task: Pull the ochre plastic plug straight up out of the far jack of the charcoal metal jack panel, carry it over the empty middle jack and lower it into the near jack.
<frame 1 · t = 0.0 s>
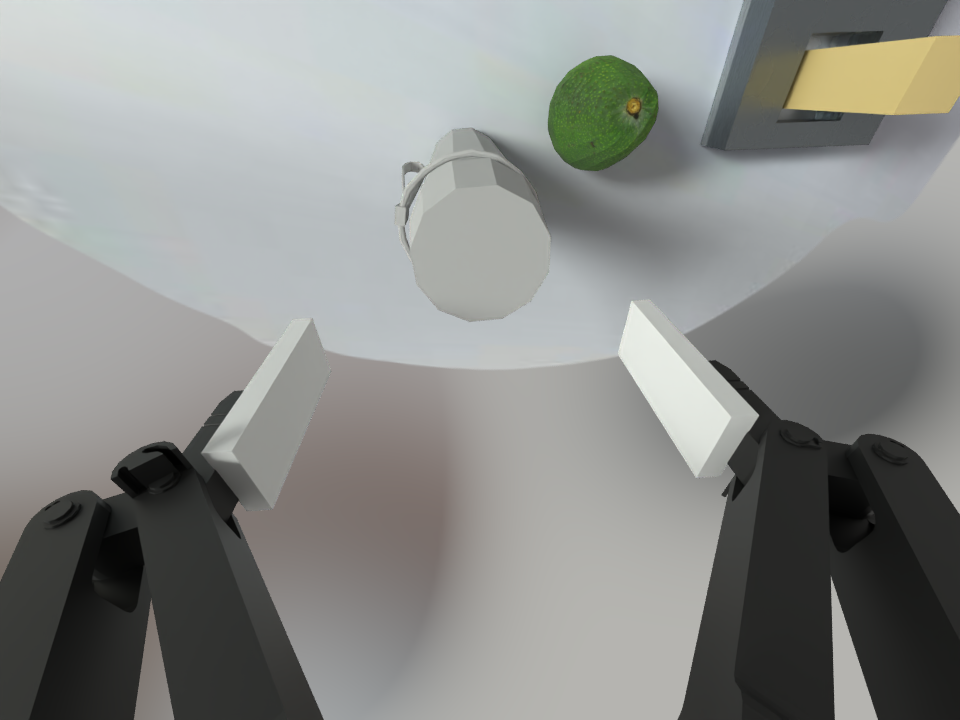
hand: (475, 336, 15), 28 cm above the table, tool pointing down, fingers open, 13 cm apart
avocado: (578, 113, 34), on the table
plug: (799, 80, 33), point 1 cm above the table, touching jack panel
water bottle: (456, 165, 36), on the table
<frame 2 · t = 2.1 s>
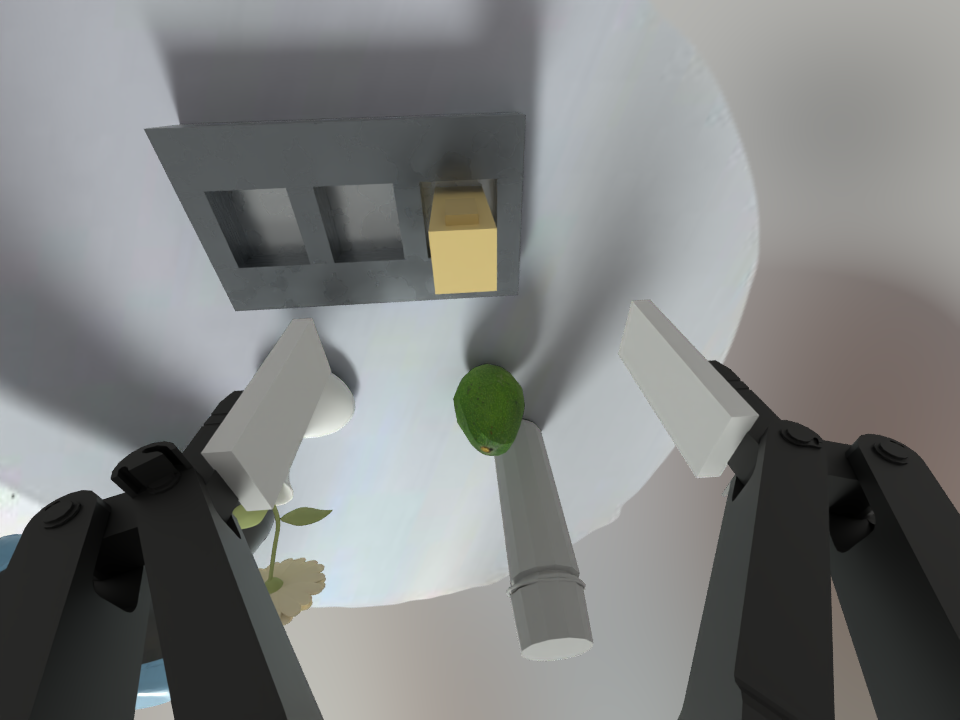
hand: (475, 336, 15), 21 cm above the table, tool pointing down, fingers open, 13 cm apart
avocado: (485, 374, 45), on the table
flower in vase: (317, 392, 44), on the table
jack panel: (370, 212, 32), on the table
plug: (459, 211, 31), point 1 cm above the table, touching jack panel
water bottle: (513, 436, 52), on the table
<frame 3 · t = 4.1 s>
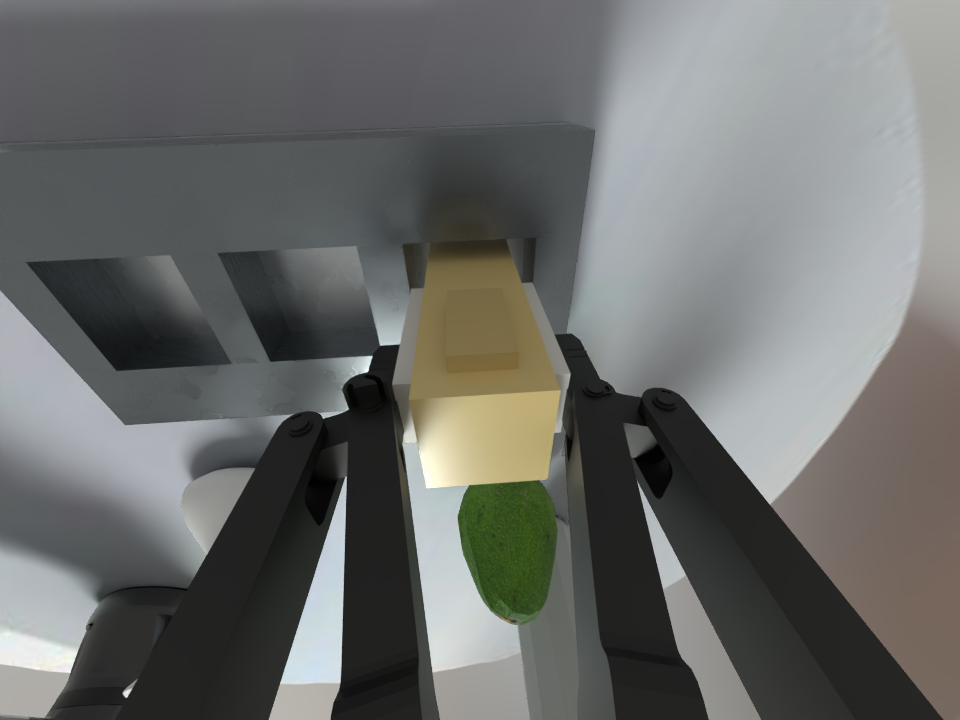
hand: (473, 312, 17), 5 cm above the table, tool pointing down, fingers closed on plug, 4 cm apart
avocado: (499, 469, 33), on the table
flower in vase: (275, 492, 33), on the table
jack panel: (331, 275, 21), on the table
plug: (469, 275, 20), point 1 cm above the table, touching gripper, jack panel
water bottle: (533, 531, 41), on the table
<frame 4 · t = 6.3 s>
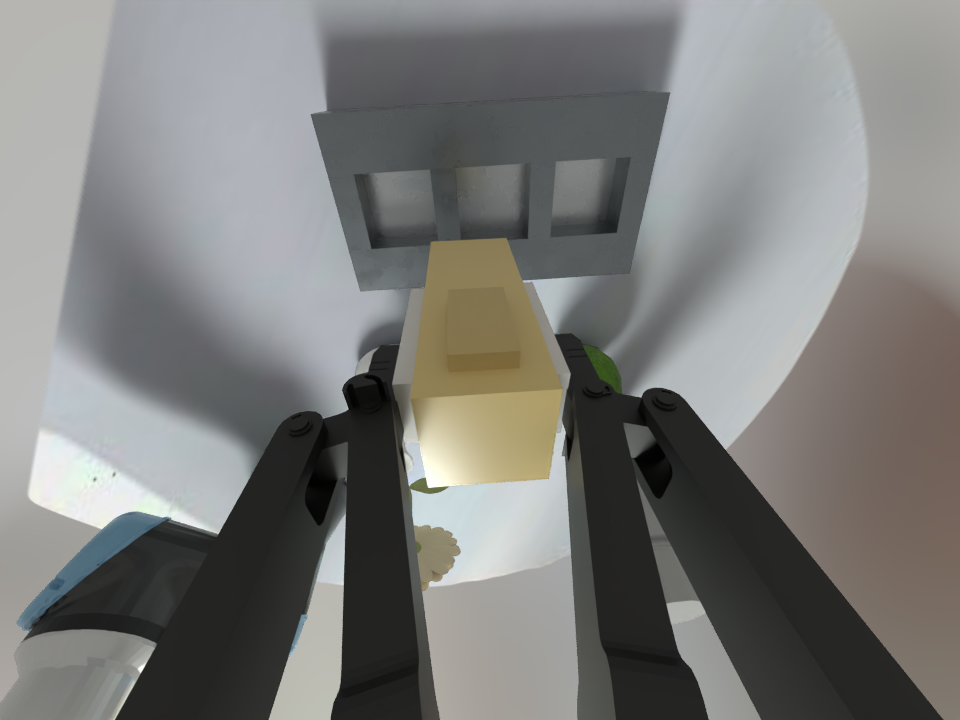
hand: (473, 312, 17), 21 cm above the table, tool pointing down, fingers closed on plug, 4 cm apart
avocado: (572, 355, 46), on the table
flower in vase: (410, 373, 46), on the table
jack panel: (490, 194, 33), on the table
plug: (470, 275, 20), point 17 cm above the table, touching gripper
water bottle: (589, 417, 53), on the table
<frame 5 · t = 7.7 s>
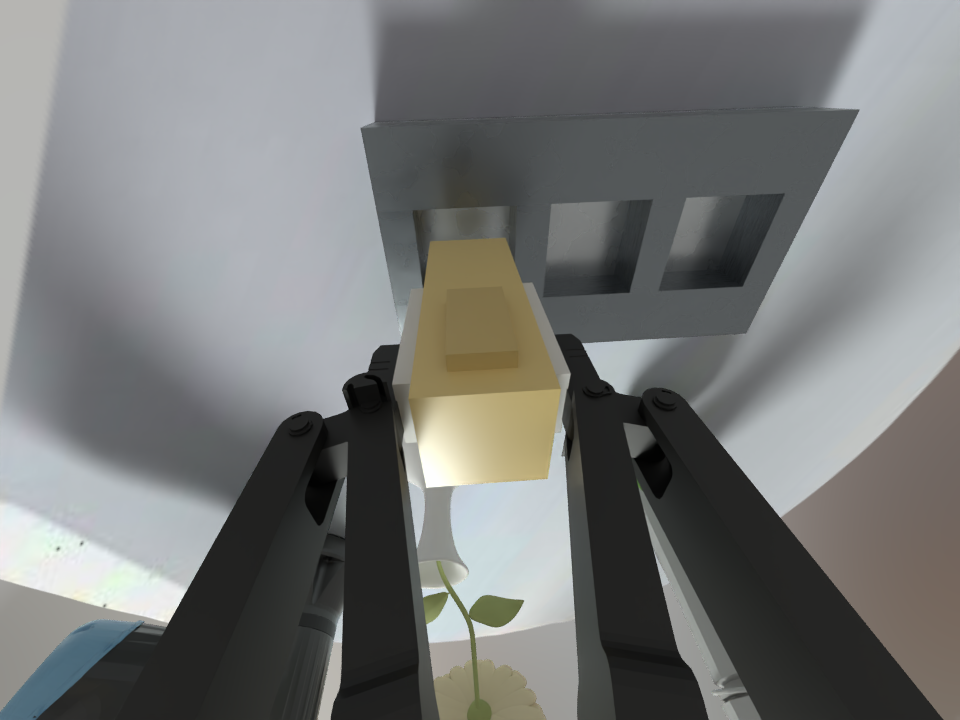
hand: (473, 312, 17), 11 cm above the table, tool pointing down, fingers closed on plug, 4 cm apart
flower in vase: (447, 434, 38), on the table
jack panel: (576, 232, 26), on the table
plug: (469, 275, 20), point 7 cm above the table, touching gripper
water bottle: (648, 478, 46), on the table
when the fingers open (7 cm above the table, at t = 8.7 s): plug drops 2 cm, resting on jack panel.
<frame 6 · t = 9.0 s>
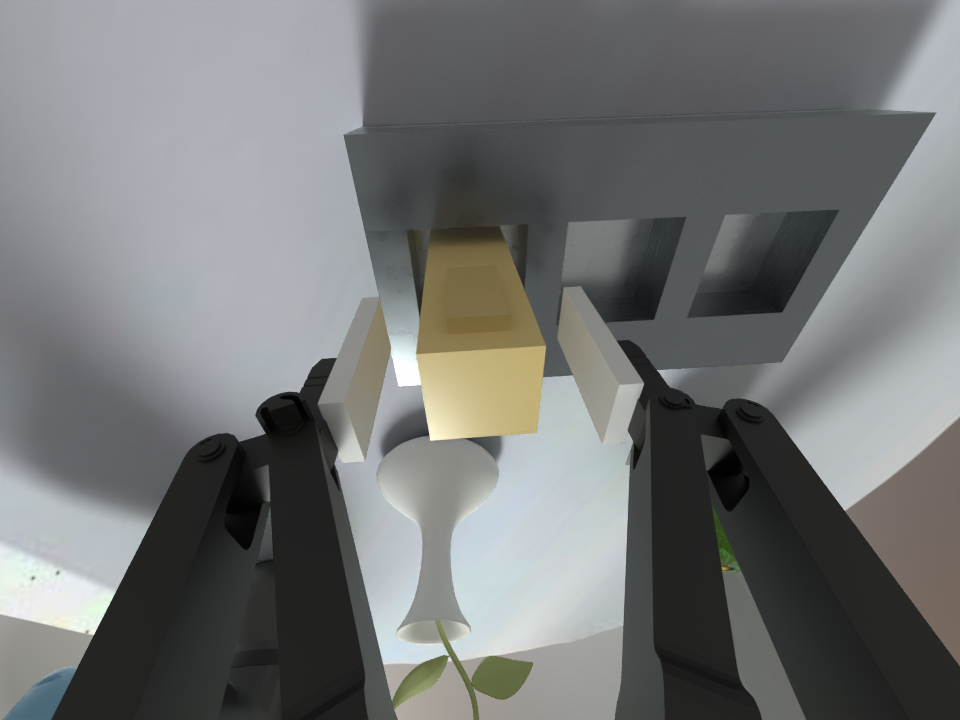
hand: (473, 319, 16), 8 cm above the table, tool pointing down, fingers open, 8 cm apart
avocado: (657, 441, 35), on the table
flower in vase: (447, 462, 35), on the table
jack panel: (592, 249, 23), on the table
plug: (467, 261, 22), point 1 cm above the table, touching jack panel
water bottle: (662, 504, 43), on the table
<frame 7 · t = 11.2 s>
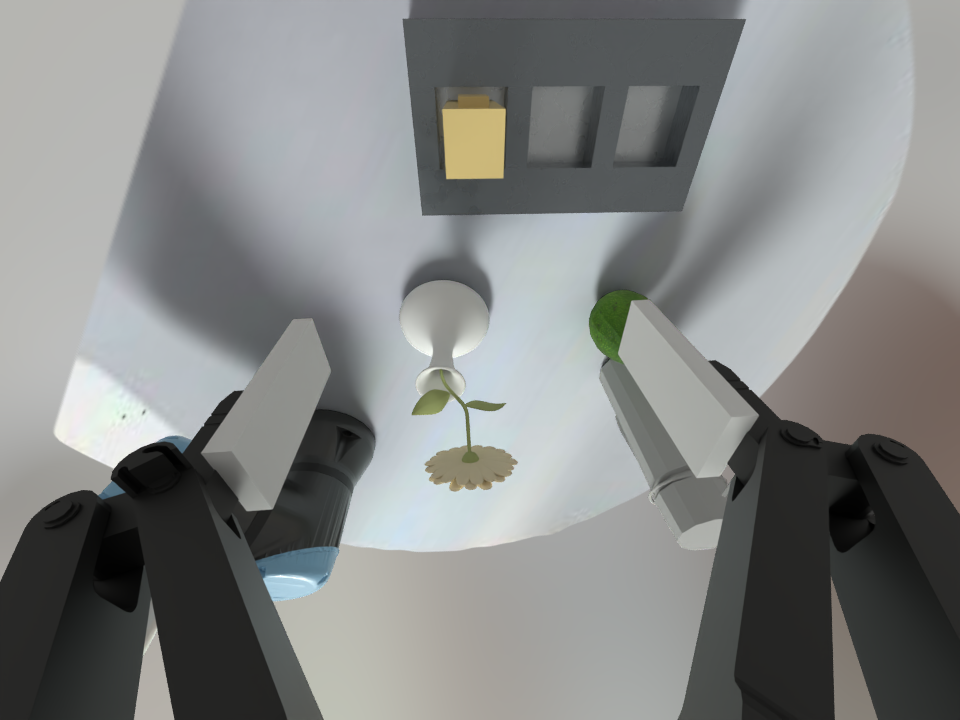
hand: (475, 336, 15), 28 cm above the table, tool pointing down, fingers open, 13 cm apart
avocado: (609, 304, 47), on the table
flower in vase: (451, 315, 47), on the table
jack panel: (554, 125, 34), on the table
plug: (470, 126, 33), point 1 cm above the table, touching jack panel
water bottle: (618, 372, 55), on the table
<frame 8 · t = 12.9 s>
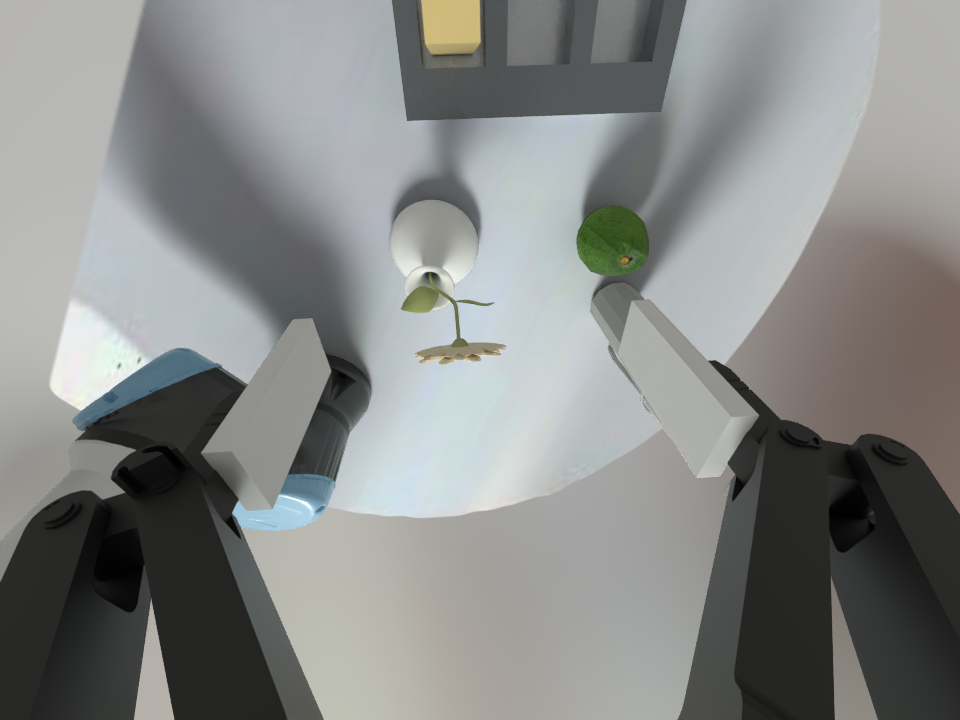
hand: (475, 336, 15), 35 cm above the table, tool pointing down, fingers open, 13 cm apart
avocado: (596, 228, 48), on the table
flower in vase: (440, 243, 48), on the table
jack panel: (532, 27, 35), on the table
plug: (450, 28, 34), point 1 cm above the table, touching jack panel
water bottle: (608, 306, 55), on the table
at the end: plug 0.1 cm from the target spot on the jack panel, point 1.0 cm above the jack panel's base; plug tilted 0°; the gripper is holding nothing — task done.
